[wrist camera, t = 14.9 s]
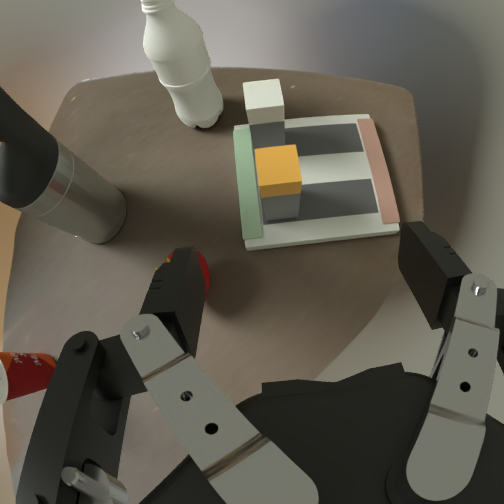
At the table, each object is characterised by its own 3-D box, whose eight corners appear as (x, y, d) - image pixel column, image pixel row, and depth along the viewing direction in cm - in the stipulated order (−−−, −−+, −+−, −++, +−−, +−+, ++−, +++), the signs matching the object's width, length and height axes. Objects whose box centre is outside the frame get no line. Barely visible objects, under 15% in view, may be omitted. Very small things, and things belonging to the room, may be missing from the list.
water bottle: (235, 111, 46) (200, -22, 22) (202, 142, 46) (141, 14, 21) (205, 92, 48) (160, -30, 23) (173, 119, 47) (107, 2, 23)
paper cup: (56, 343, 42) (-8, 345, 28) (69, 390, 40) (7, 404, 26) (26, 351, 42) (-34, 353, 28) (38, 395, 40) (-21, 407, 27)
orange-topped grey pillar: (265, 220, 40) (258, 186, 29) (262, 191, 41) (254, 149, 30) (298, 217, 39) (302, 181, 29) (293, 187, 40) (295, 144, 30)
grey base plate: (245, 251, 42) (228, 221, 29) (234, 133, 45) (218, 74, 32) (396, 233, 40) (437, 199, 27) (367, 121, 44) (387, 63, 31)
